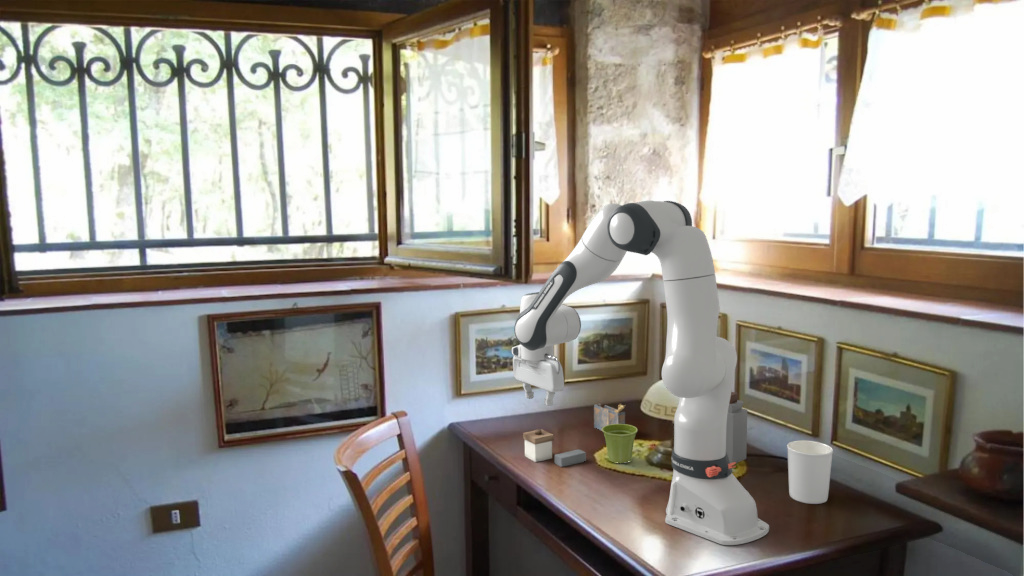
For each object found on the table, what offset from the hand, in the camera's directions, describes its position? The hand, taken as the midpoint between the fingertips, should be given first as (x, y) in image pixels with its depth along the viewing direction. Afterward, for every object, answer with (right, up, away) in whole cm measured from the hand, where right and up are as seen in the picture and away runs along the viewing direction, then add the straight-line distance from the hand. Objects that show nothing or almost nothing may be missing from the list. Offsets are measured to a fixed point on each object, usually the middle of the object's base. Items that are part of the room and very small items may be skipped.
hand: (538, 401), depth 196 cm
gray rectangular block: (+8, -16, -2) cm, 18 cm away
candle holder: (+62, -18, -27) cm, 70 cm away
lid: (0, -11, +1) cm, 11 cm away
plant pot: (+22, -16, -1) cm, 27 cm away
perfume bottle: (+51, -15, -1) cm, 53 cm away
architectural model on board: (+22, -13, +23) cm, 35 cm away
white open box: (0, -16, +2) cm, 16 cm away
